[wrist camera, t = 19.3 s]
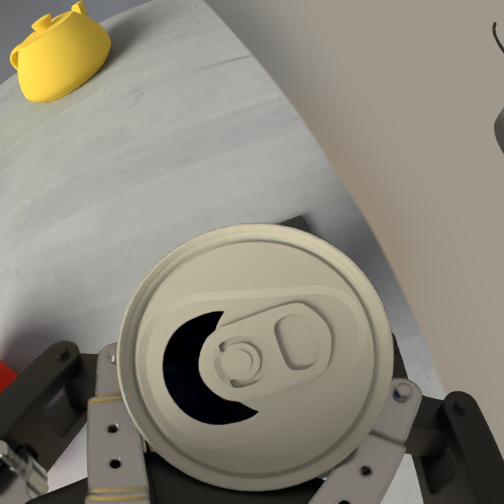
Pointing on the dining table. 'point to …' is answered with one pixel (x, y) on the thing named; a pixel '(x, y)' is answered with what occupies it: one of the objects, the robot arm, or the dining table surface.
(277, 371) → the beverage can
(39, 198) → the dining table surface
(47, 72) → the teapot
